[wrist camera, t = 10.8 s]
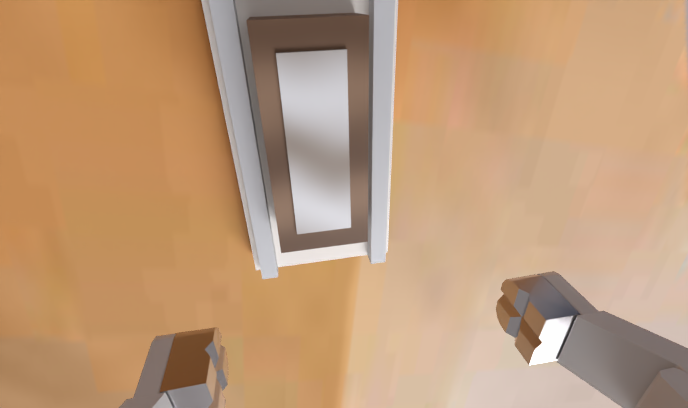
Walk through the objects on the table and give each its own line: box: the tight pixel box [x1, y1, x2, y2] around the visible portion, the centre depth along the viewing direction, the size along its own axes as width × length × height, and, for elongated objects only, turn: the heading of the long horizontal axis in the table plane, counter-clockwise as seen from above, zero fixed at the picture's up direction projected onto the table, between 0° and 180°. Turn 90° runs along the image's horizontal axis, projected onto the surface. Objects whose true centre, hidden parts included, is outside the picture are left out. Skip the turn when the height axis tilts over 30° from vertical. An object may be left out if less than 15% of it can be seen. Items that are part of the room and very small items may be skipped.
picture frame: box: [246, 13, 369, 253], centre depth 22 cm, size 14×6×4 cm, turn 1°
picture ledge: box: [201, 0, 398, 279], centre depth 24 cm, size 22×11×3 cm, turn 2°
